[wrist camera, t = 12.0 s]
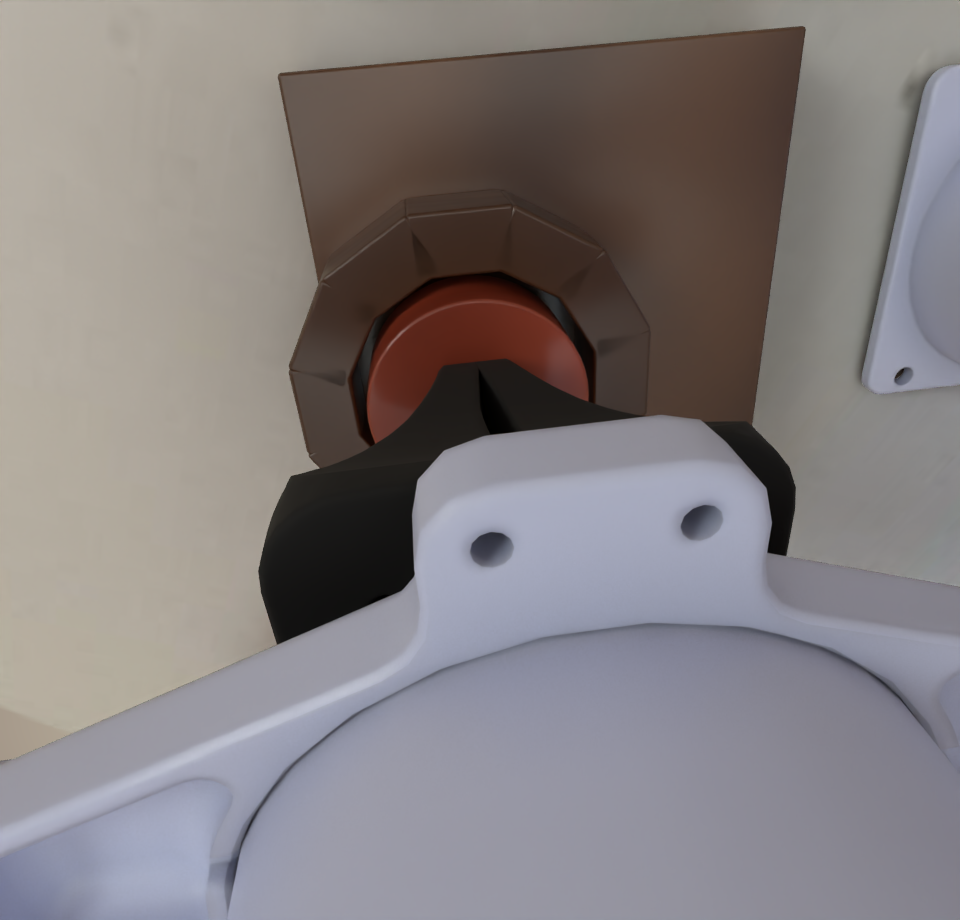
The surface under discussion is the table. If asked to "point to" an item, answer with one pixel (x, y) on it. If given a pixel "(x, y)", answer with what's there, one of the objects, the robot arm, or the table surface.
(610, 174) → the button box
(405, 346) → the button
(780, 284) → the table surface
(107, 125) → the table surface
